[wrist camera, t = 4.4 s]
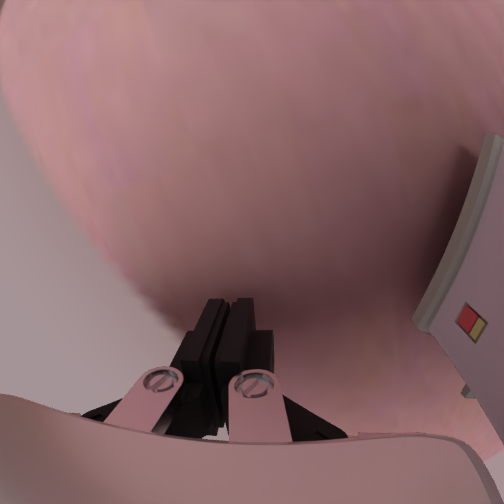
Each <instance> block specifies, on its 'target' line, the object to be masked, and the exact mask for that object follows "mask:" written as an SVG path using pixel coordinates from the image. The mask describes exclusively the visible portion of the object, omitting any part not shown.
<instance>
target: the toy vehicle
mask: <svg viewBox="0 0 504 504" xmlns="http://www.w3.org/2000/svg"><path fill="white" fill-rule="evenodd" d="M411 321H412V322H413V323H414V325H415V326H416V328H417V329H419V330H420V331H422V332H425V333H428V334H432V335H433V337H434V338H435V339H436V341H437V342H438V344H439V345H440V346H441V348H442V349H443V350H444V352H445V353H446V355H447V356H448V357H449V359H450V360H451V362H452V363H453V365H454V366H455V367H456V369H457V370H458V372H459V373H460V375H461V376H462V378H463V379H464V381H465V382H466V385H465V386H464V388H463V389H462V392H461V394H462V395H463V396H464V397H465V398H474V399H477V401H478V402H479V404H480V405H481V407H482V409H483V410H484V412H485V414H486V415H487V417H488V418H489V420H490V422H491V424H492V425H493V427H494V429H495V430H496V432H497V434H498V436H499V437H500V439H501V441H502V443H503V445H504V139H503V138H502V137H501V136H499V135H497V134H484V139H483V143H482V147H481V150H480V154H479V158H478V161H477V165H476V168H475V172H474V175H473V178H472V181H471V185H470V188H469V191H468V194H467V197H466V199H465V202H464V205H463V208H462V211H461V213H460V216H459V219H458V221H457V224H456V226H455V229H454V231H453V234H452V236H451V238H450V241H449V243H448V246H447V248H446V250H445V252H444V255H443V257H442V259H441V261H440V263H439V266H438V268H437V270H436V272H435V274H434V276H433V278H432V280H431V282H430V284H429V286H428V288H427V290H426V292H425V294H424V296H423V298H422V300H421V301H420V303H419V305H418V307H417V309H416V311H415V312H414V314H413V316H412V318H411Z"/></svg>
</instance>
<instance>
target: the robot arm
mask: <svg viewBox="0 0 504 504" xmlns="http://www.w3.org/2000/svg"><path fill="white" fill-rule="evenodd" d="M225 422H226V427H227V431H228V435H229V441H220V440H208V439H202V437H204V436H206V435H212V436H217V432H218V428H219V427H220V428H222V427H224V423H225ZM0 504H504V503H503V501H502V498H501V496H500V493H499V491H498V489H497V487H496V484H495V482H494V480H493V478H492V476H491V475H490V473H489V471H488V469H487V468H486V466H485V464H484V463H483V461H482V460H481V458H480V457H479V456H478V454H477V453H476V452H475V451H474V450H473V449H472V448H471V447H470V446H469V445H468V444H466V443H465V442H463V441H461V440H458V439H456V438H452V437H448V436H443V435H435V434H426V433H419V432H416V433H361V432H358V435H357V436H350V435H347V434H346V433H345V432H344V431H342V430H341V429H340V428H338V427H336V426H334V425H332V424H331V423H329V422H327V421H325V420H324V419H322V418H320V417H318V416H317V415H315V414H313V413H312V412H310V411H308V410H307V409H305V408H303V407H302V406H300V405H298V404H297V403H295V402H293V401H292V400H290V399H289V398H287V397H285V396H284V395H282V391H281V386H280V382H279V380H278V378H277V377H276V376H275V375H274V342H273V330H256V327H255V316H254V304H253V298H238V300H237V302H233V303H232V306H231V309H230V304H229V302H225V301H224V299H209V300H208V302H207V304H206V306H205V308H204V310H203V312H202V314H201V316H200V319H199V321H198V323H197V325H196V327H195V329H194V331H188V332H187V333H186V335H185V337H184V339H183V341H182V343H181V345H180V347H179V349H178V351H177V353H176V355H175V357H174V359H173V361H172V362H171V365H170V366H169V367H165V366H164V367H157V368H154V369H151V370H149V371H147V372H146V373H144V374H143V375H142V376H141V377H140V378H139V380H138V381H137V382H136V383H135V384H134V386H133V387H132V388H131V389H130V391H129V392H128V393H127V394H126V395H125V397H124V398H122V399H120V400H117V401H115V402H112V403H110V404H107V405H104V406H102V407H99V408H96V409H94V410H91V411H89V412H87V413H85V414H83V415H82V416H81V414H80V413H67V412H64V411H61V410H57V409H54V408H51V407H48V406H45V405H42V404H39V403H36V402H33V401H30V400H27V399H24V398H20V397H17V396H13V395H7V394H0Z"/></svg>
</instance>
